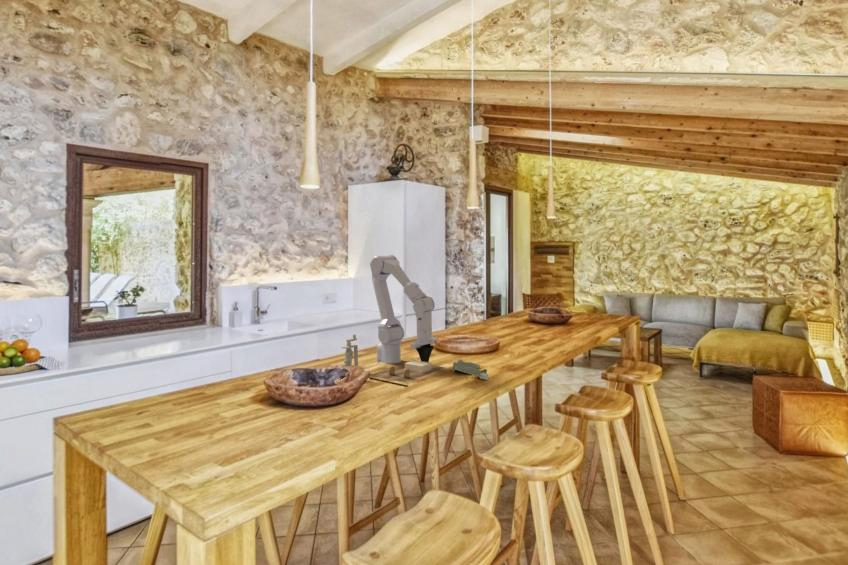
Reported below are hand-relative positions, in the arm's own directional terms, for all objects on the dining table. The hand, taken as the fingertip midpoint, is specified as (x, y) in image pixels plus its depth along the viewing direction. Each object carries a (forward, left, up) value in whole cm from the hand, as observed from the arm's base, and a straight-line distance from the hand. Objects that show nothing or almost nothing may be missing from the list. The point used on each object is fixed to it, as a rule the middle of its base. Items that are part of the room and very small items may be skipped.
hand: (424, 364), depth 185 cm
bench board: (-2, -8, -3) cm, 8 cm away
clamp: (-19, -22, -3) cm, 29 cm away
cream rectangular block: (0, -4, -1) cm, 4 cm away
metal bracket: (+17, +6, -3) cm, 18 cm away
